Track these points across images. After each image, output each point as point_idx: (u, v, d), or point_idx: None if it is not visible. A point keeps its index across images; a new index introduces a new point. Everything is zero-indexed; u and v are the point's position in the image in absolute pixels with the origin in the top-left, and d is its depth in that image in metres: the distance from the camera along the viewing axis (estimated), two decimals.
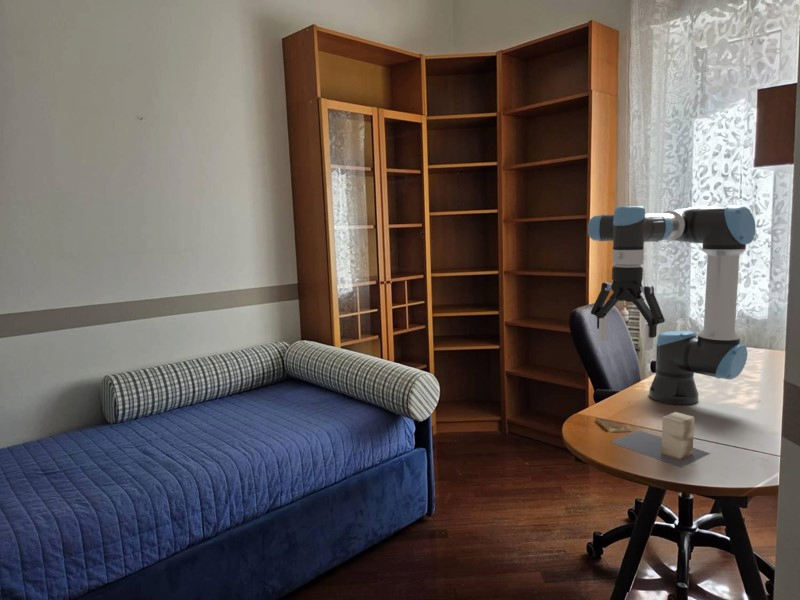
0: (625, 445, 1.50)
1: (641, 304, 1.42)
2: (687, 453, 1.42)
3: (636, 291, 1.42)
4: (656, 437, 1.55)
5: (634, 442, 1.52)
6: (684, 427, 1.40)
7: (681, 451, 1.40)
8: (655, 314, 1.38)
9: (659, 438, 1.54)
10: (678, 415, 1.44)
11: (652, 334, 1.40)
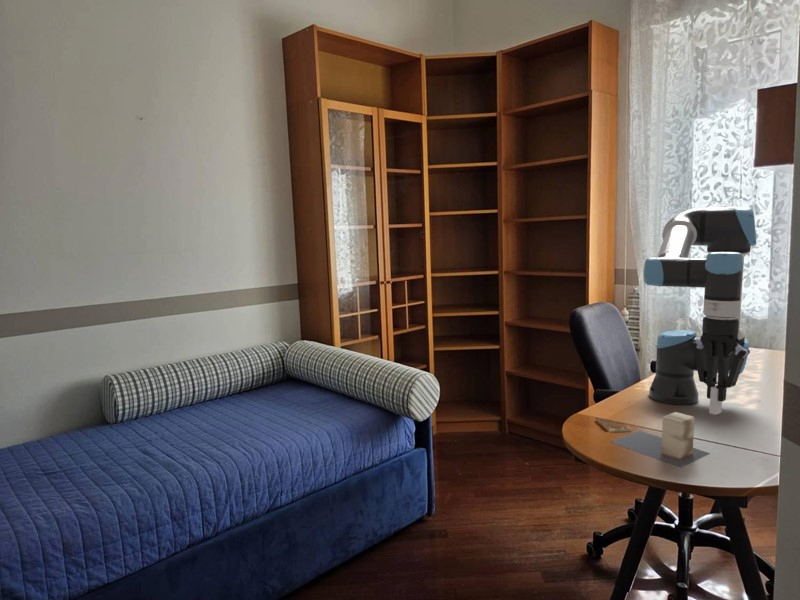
0: (625, 445, 1.50)
1: (724, 364, 1.31)
2: (687, 453, 1.42)
3: (730, 346, 1.29)
4: (656, 437, 1.55)
5: (634, 442, 1.52)
6: (684, 427, 1.40)
7: (681, 451, 1.40)
8: (731, 379, 1.30)
9: (659, 438, 1.54)
10: (678, 415, 1.44)
11: (722, 398, 1.32)
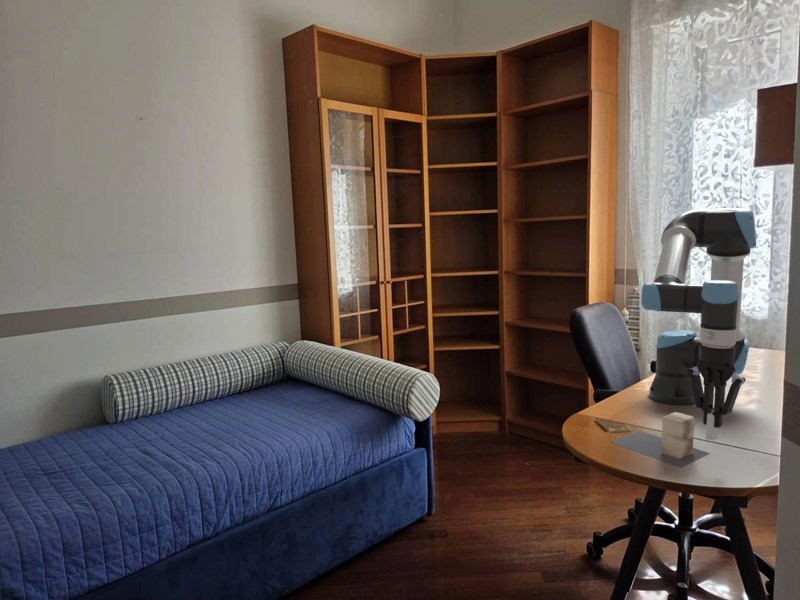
0: (625, 445, 1.50)
1: (721, 392, 1.33)
2: (687, 453, 1.42)
3: (726, 374, 1.31)
4: (656, 437, 1.55)
5: (634, 442, 1.52)
6: (684, 427, 1.40)
7: (681, 451, 1.40)
8: (727, 406, 1.31)
9: (659, 438, 1.54)
10: (678, 415, 1.44)
11: (718, 424, 1.34)
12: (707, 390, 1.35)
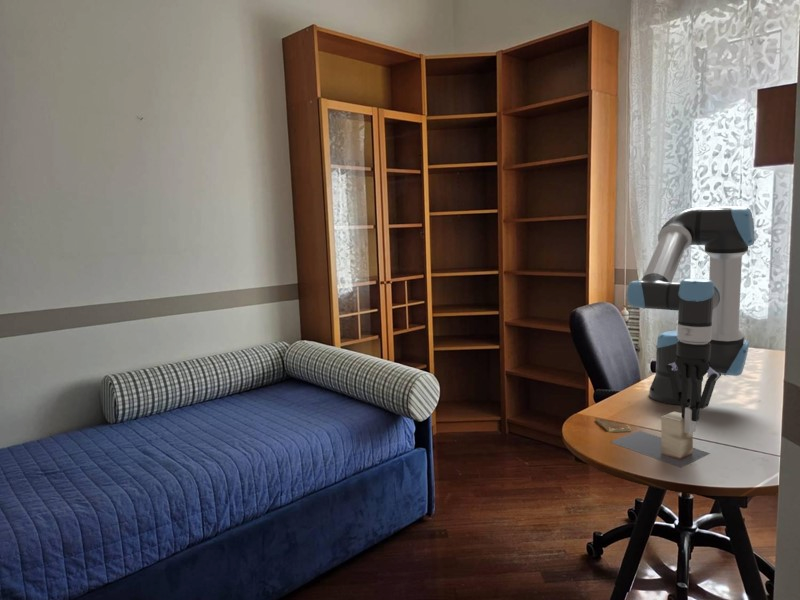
0: (625, 445, 1.50)
1: (697, 386, 1.37)
2: (687, 452, 1.42)
3: (702, 369, 1.35)
4: (656, 437, 1.55)
5: (634, 442, 1.52)
6: (683, 425, 1.40)
7: (681, 450, 1.40)
8: (704, 400, 1.36)
9: (659, 438, 1.54)
10: (677, 414, 1.44)
11: (695, 418, 1.39)
12: (685, 385, 1.39)
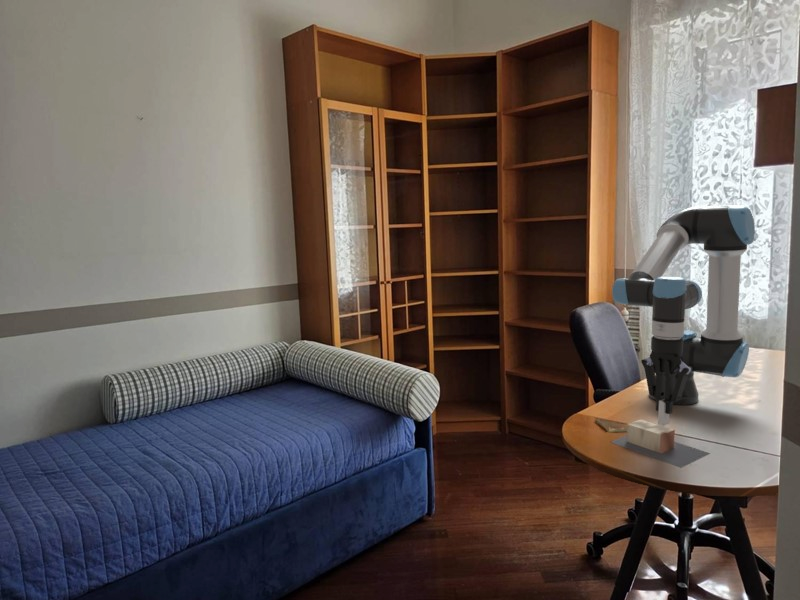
0: (625, 445, 1.50)
1: (670, 380, 1.43)
2: (666, 431, 1.46)
3: (675, 364, 1.41)
4: None
5: None
6: (635, 424, 1.51)
7: (655, 432, 1.46)
8: (676, 393, 1.41)
9: None
10: None
11: (668, 410, 1.44)
12: (659, 379, 1.45)
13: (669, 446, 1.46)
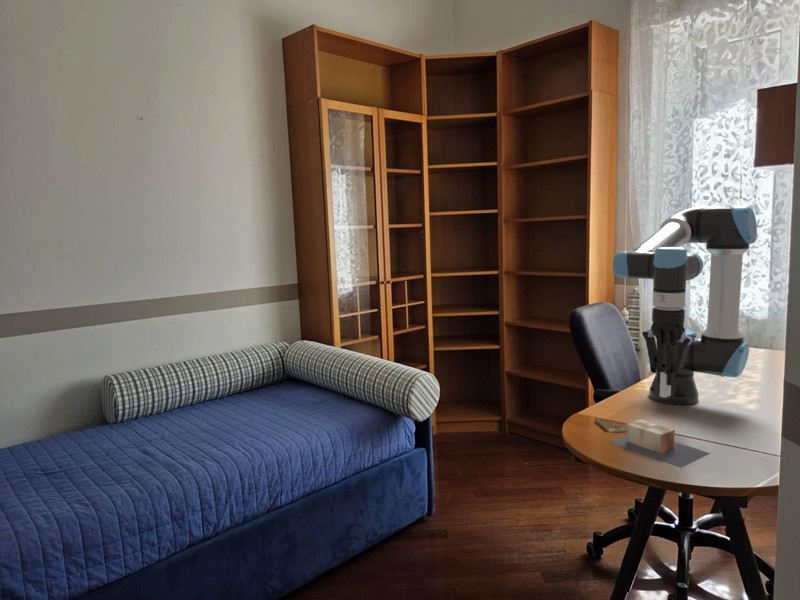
0: (625, 445, 1.50)
1: (672, 351, 1.42)
2: (666, 431, 1.46)
3: (676, 334, 1.40)
4: None
5: None
6: (635, 424, 1.51)
7: (655, 432, 1.46)
8: (678, 364, 1.40)
9: None
10: None
11: (670, 382, 1.43)
12: (660, 350, 1.44)
13: (669, 446, 1.46)
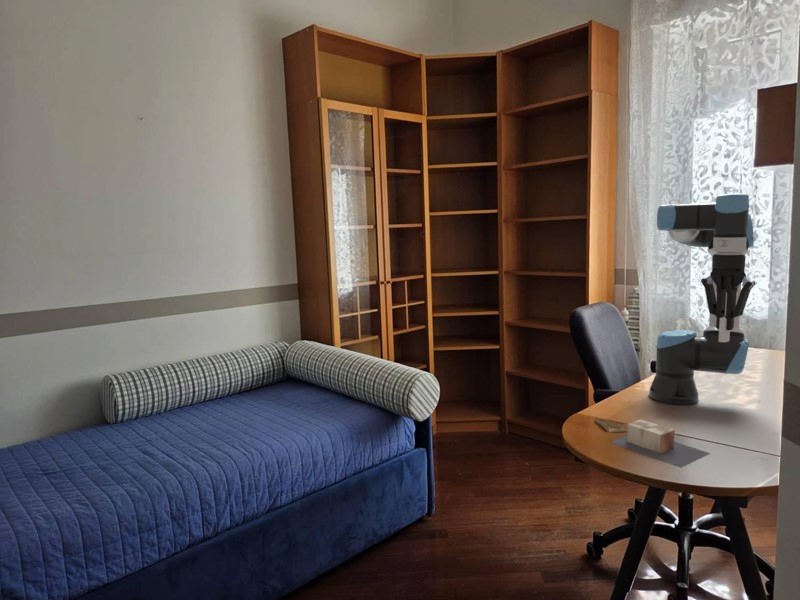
0: (625, 445, 1.50)
1: (732, 296, 1.45)
2: (666, 431, 1.46)
3: (737, 279, 1.43)
4: None
5: None
6: (635, 424, 1.51)
7: (655, 432, 1.46)
8: (738, 308, 1.44)
9: None
10: None
11: (730, 327, 1.46)
12: (720, 296, 1.47)
13: (669, 446, 1.46)
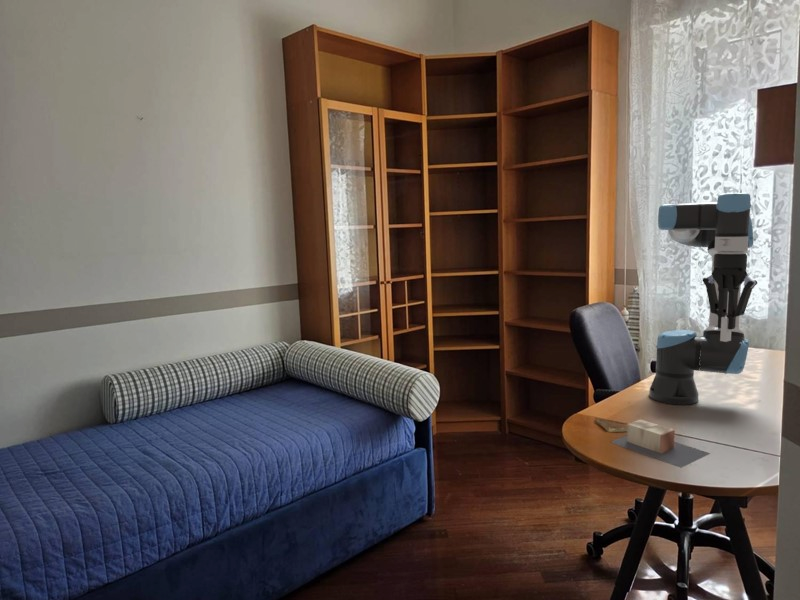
0: (625, 445, 1.50)
1: (734, 295, 1.45)
2: (666, 431, 1.46)
3: (739, 278, 1.43)
4: None
5: None
6: (635, 424, 1.51)
7: (655, 432, 1.46)
8: (740, 307, 1.44)
9: None
10: None
11: (731, 326, 1.46)
12: (721, 295, 1.47)
13: (669, 446, 1.46)
